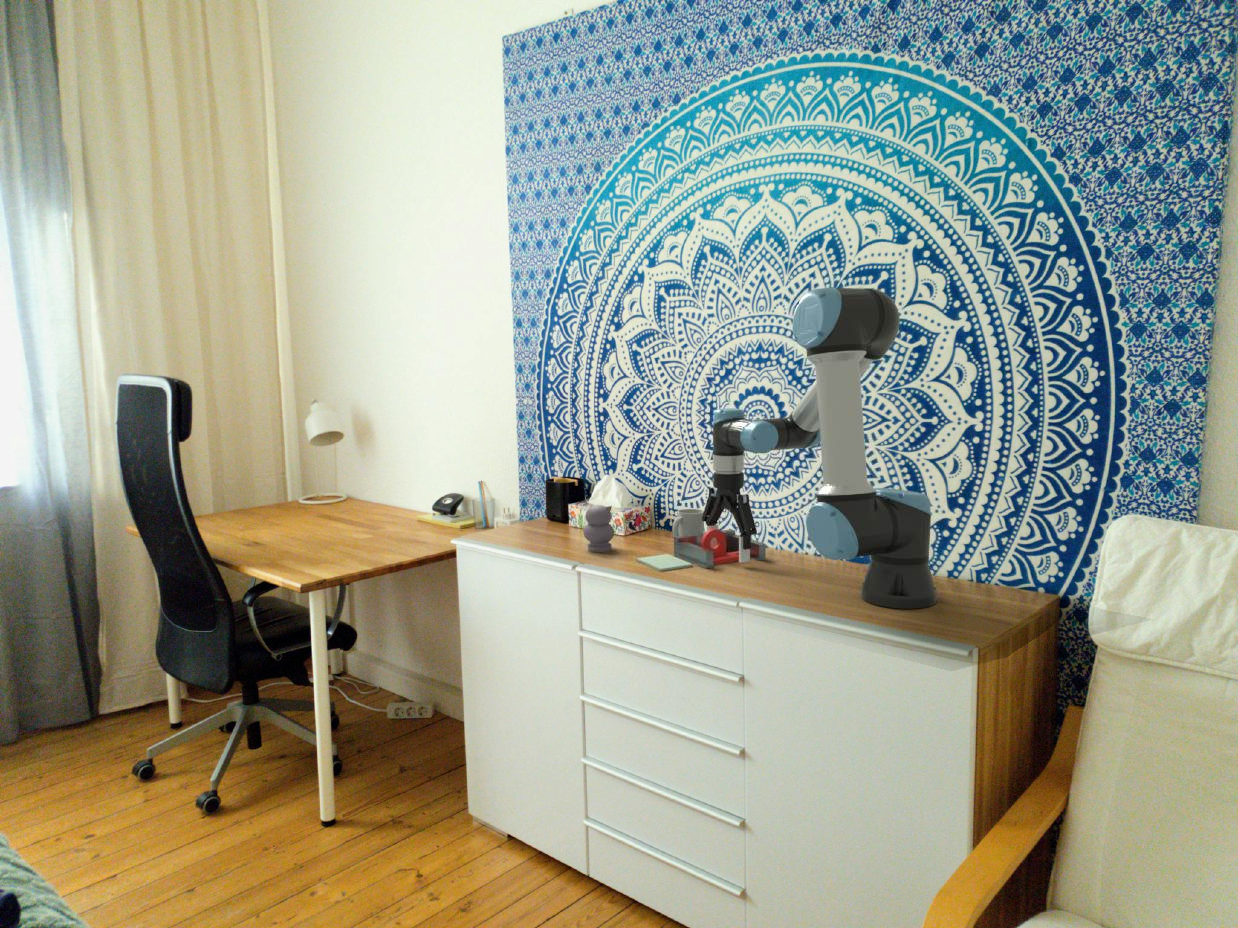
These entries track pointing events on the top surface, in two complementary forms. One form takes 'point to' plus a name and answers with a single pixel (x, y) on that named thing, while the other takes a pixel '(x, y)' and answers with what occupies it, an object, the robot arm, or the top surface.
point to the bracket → (718, 547)
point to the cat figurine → (598, 528)
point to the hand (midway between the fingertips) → (728, 556)
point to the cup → (688, 522)
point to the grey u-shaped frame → (694, 553)
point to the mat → (664, 562)
